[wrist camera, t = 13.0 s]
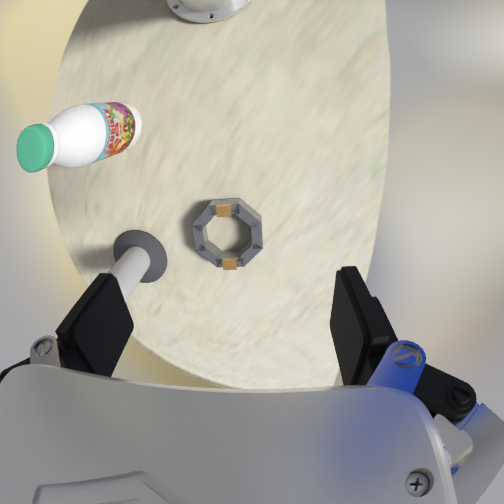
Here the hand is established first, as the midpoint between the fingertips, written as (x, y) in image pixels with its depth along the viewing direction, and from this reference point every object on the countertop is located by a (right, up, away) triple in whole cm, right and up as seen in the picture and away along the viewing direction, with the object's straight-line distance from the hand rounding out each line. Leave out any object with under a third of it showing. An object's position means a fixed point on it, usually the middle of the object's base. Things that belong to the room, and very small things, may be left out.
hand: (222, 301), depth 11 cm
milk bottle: (-18, +21, +24) cm, 37 cm away
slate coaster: (-18, +1, +34) cm, 39 cm away
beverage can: (-18, +1, +34) cm, 38 cm away
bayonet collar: (-2, +5, +32) cm, 32 cm away
